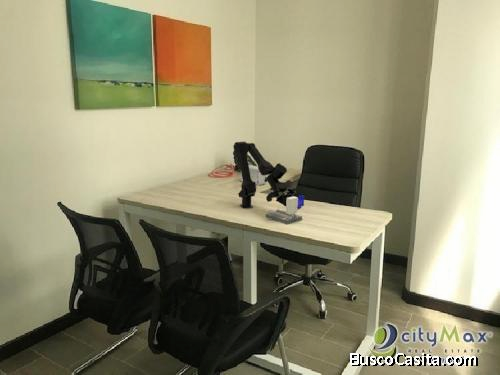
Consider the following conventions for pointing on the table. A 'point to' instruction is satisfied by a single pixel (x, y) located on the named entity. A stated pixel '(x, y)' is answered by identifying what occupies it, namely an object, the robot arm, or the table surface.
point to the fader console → (283, 217)
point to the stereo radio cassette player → (255, 175)
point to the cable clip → (300, 202)
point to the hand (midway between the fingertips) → (289, 207)
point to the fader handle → (291, 206)
